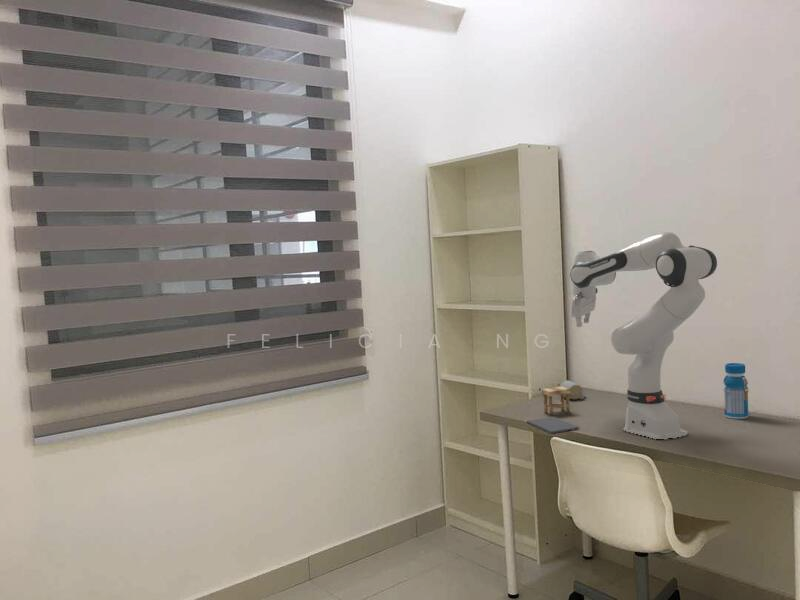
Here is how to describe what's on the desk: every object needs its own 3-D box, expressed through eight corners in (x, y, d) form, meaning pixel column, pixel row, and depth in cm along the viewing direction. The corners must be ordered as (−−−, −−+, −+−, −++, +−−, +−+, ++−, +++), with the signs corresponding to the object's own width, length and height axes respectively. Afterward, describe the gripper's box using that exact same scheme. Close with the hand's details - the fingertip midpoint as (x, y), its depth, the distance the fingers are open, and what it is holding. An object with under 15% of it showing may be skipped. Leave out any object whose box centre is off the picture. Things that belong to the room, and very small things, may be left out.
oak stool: (563, 409, 270) (562, 386, 269) (571, 412, 264) (570, 388, 263) (542, 412, 267) (541, 389, 266) (550, 416, 261) (549, 391, 260)
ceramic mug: (570, 401, 284) (569, 384, 283) (559, 397, 291) (558, 381, 291) (589, 398, 287) (589, 381, 287) (578, 395, 295) (578, 378, 295)
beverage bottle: (731, 420, 239) (729, 367, 238) (719, 414, 248) (718, 363, 246) (753, 418, 239) (752, 365, 238) (741, 413, 248) (739, 361, 246)
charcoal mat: (579, 429, 240) (579, 427, 240) (551, 433, 236) (550, 431, 236) (553, 418, 257) (553, 416, 257) (526, 422, 253) (526, 420, 253)
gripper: (583, 294, 248) (582, 329, 250) (599, 288, 265) (597, 321, 267) (567, 293, 252) (566, 328, 254) (583, 287, 269) (582, 319, 271)
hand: (582, 324), depth 261 cm, fingers open, 8 cm apart
